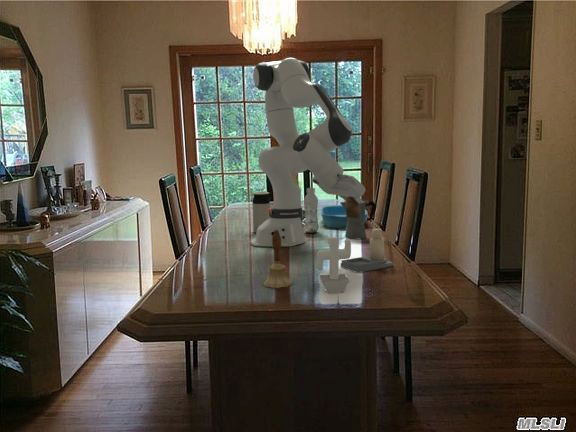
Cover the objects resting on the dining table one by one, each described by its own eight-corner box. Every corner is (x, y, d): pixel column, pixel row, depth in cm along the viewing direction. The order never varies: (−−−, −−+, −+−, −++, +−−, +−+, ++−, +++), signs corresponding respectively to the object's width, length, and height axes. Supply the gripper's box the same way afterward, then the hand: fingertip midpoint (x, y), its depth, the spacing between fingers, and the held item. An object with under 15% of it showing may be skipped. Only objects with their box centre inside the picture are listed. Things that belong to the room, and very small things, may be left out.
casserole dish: (369, 229, 237) (369, 214, 236) (321, 230, 239) (321, 215, 238) (363, 217, 274) (363, 204, 273) (321, 218, 275) (321, 205, 274)
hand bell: (295, 286, 147) (294, 231, 145) (267, 289, 145) (265, 233, 142) (287, 279, 155) (286, 227, 153) (260, 282, 153) (258, 229, 150)
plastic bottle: (320, 231, 234) (319, 187, 231) (316, 234, 228) (315, 189, 225) (306, 231, 236) (306, 187, 233) (302, 233, 230) (301, 189, 227)
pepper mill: (347, 218, 176) (347, 188, 175) (345, 216, 180) (344, 187, 179) (361, 217, 176) (360, 188, 175) (358, 215, 181) (357, 187, 179)
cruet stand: (357, 272, 161) (357, 235, 159) (340, 266, 169) (340, 231, 167) (393, 266, 168) (393, 230, 166) (375, 260, 176) (375, 226, 174)
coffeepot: (337, 238, 217) (337, 195, 215) (343, 234, 226) (343, 193, 223) (373, 240, 211) (373, 196, 209) (378, 236, 220) (378, 194, 218)
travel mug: (268, 232, 234) (267, 193, 231) (251, 232, 235) (250, 193, 233) (272, 229, 242) (271, 191, 239) (255, 229, 243) (254, 191, 240)
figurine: (315, 287, 145) (314, 235, 143) (348, 286, 146) (347, 234, 144) (319, 295, 138) (318, 240, 136) (354, 293, 139) (353, 238, 137)
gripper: (354, 167, 164) (378, 196, 170) (319, 166, 181) (342, 192, 187) (343, 182, 162) (368, 210, 168) (308, 180, 180) (332, 205, 186)
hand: (354, 201), depth 178 cm, fingers closed on pepper mill, 5 cm apart
